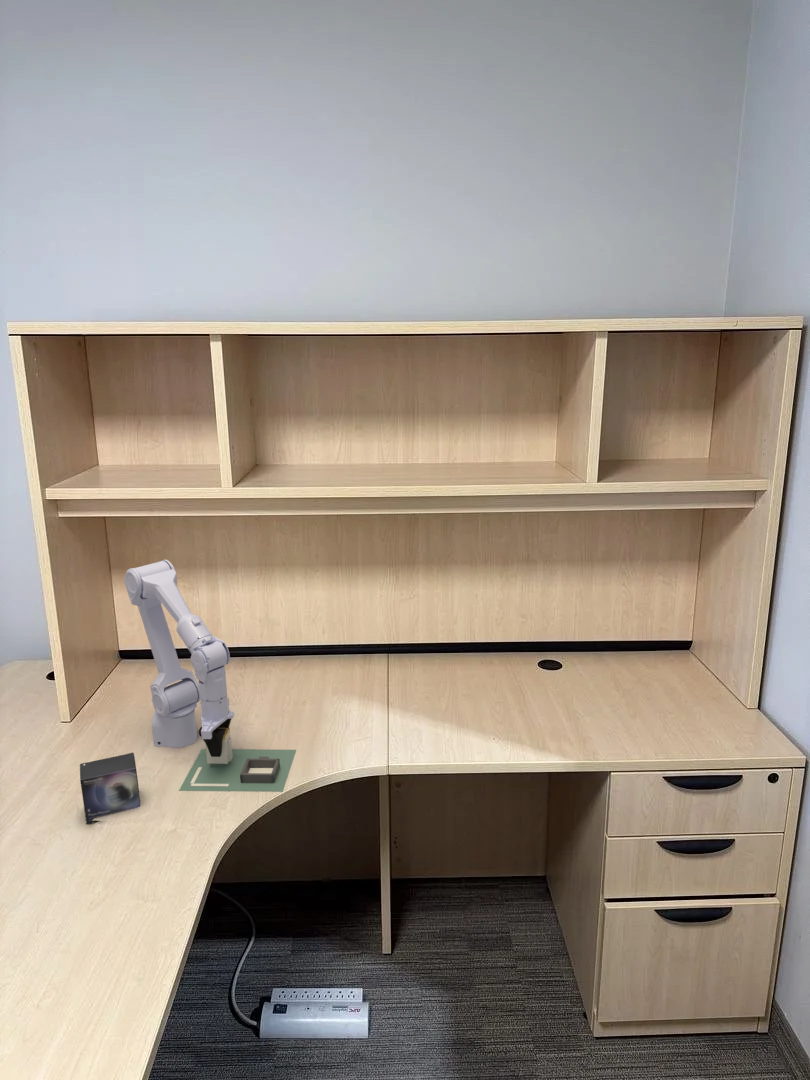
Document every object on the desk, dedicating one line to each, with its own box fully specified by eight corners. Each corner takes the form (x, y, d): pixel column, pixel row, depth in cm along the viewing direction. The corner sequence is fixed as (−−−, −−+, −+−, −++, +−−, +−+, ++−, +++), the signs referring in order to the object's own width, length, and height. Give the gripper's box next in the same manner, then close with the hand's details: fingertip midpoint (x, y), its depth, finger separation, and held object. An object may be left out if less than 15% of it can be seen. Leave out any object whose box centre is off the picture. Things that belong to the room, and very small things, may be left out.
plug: (207, 763, 163) (204, 735, 161) (211, 754, 166) (209, 727, 164) (229, 763, 163) (227, 736, 161) (233, 754, 166) (231, 728, 164)
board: (179, 795, 156) (177, 782, 155) (202, 753, 171) (200, 741, 170) (283, 796, 155) (282, 783, 154) (296, 754, 170) (295, 741, 169)
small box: (85, 826, 146) (78, 780, 144) (85, 807, 152) (78, 763, 149) (142, 812, 150) (136, 767, 148) (139, 794, 156) (133, 751, 153)
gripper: (222, 712, 153) (227, 769, 157) (240, 680, 167) (244, 733, 171) (189, 712, 153) (194, 769, 157) (209, 679, 167) (214, 733, 171)
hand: (218, 750), depth 164 cm, fingers closed on plug, 3 cm apart
